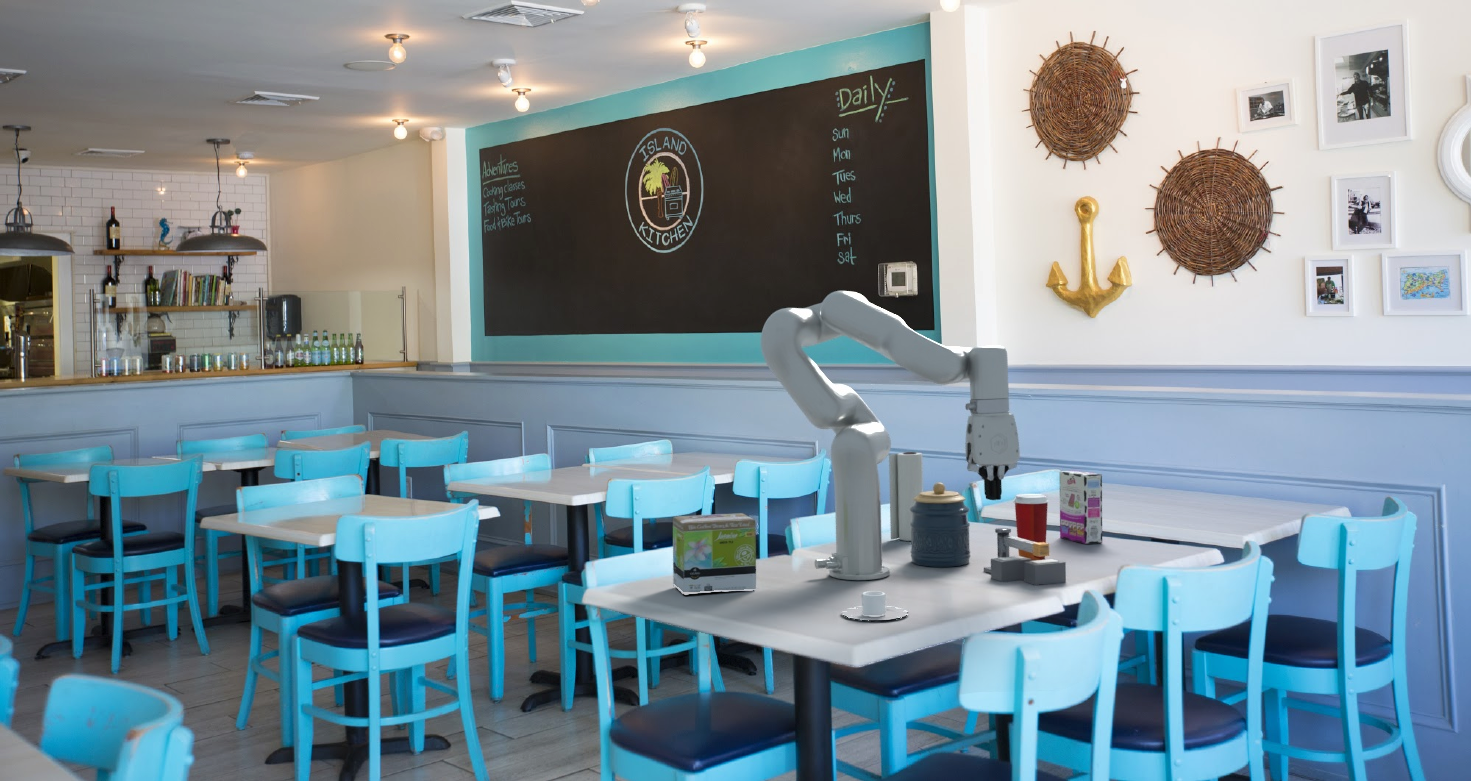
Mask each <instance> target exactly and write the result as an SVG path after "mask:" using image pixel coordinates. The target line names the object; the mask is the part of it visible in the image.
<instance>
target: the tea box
mask: <svg viewBox="0 0 1471 781" xmlns="http://www.w3.org/2000/svg"><path fill="white" fill-rule="evenodd" d="M756 523H757V522H756V519H754V518H752V517H750V516H748V515H746V514H745V513H743V512H740V513H717V514H715V513H714V514H698V515H697V514H696V515H680V516H677V515H676V516H673V517H672V561H673V562H672V566H673V567H672V571H673V572H672V577H673V579H672V581H673V582H672V583H673V584H675V585H676V586H677V587H679V588H680V589H681V590H682V591H683V592H700V591H714V590H744V589H756V590H757V552H756V551H757V546H756V544H757V542H756V540H757V538H756V537H757V536H756V534H757V531H756V529H757V528H756V527H757V526H756V525H757V524H756Z"/></svg>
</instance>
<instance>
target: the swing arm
mask: <svg viewBox="0 0 1471 781" xmlns="http://www.w3.org/2000/svg"><path fill="white" fill-rule="evenodd" d="M1004 545H1006V546H1009V548H1013V549H1017V550H1018V549H1020V550H1024V551H1027V552H1031V553H1033V555H1034V556H1038V557H1041V556H1045V557H1048V556H1050V543H1048V542H1046V543H1045V542H1040V543H1037V542H1033V541H1030V540H1026V539H1022V538H1018V537H1017V536H1013V535H1009V536H1004Z"/></svg>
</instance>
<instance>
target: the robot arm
mask: <svg viewBox="0 0 1471 781" xmlns="http://www.w3.org/2000/svg"><path fill="white" fill-rule="evenodd" d="M761 330H762V331H761V336H760V349H761V354H762V357H763V359H764V361H765V363H766V366H767V367H768V368H769V370H770V371H771V373H772V374H773V376H774V377H775V378H776V379H777V380H778V382H779V383H780V384H781V386H782V387H783V388H784V389H785V391H786V392H787V394H788V395H789V396H790V398H791V399H792V400H793V402H794V403H795V404H796V406H797V407H798V408H799V409H800V411H801V412H802V413H803V415H804V416H805V418H806V419H807V420H808V421H809V423H810V424H811V425H813V426H814V427H815V428H818V429H820V430H832V431H833V432H834V433H835V436H834V437H833V439H832V443H831V447H830V461H831V467H832V471H833V472H832V473H833V480H834V481H833V482H834V484H833V485H834V486H833V487H834V508H835V510H834V511H835V514H834V516H835V517H834V518H835V552H834V553H833V552H832V553H831V556H829V557H828V558H818V559H815V560H814V568H815V569H818V570H819V569H820V570H821V569H826V570H829V576H830V577H832V578H835V579H840V580H849V581H868V580H869V581H871V580H872V581H873V580H878V579H883V578H887V577H889V576H890V569H889V567H887V566H885V565H883V549H882V548H883V546H882V541H883V540H882V506H881V505H882V503H881V499H882V498H881V483H880V475H879V470H878V464H880V463H882V462H884V461H885V460H886V459H887V458H888V457H889V454H890V452H891V449H892V448H891V445H892V443H891V438H890V434H889V432H888V430H887V428H886V427H885V426H884V425H883V423H882V421H881V420H880V419H879V418H878V417H877V416H876V415H875V414H874V412H873V411H872V409H871V408H870V407H869V406H868V405H867V403H866V402H865V401H864V400H863V398H862V397H861V396H860V395H859V394H858V392H856V391H855V390H854V389H852V388H851V387H850V386H849V385H846V384H843V383H838V382H837V383H836V382H835V383H833V382H832V381H831V380H830V379H828V377H827V376H826V375H825V373H823V371H822V370H821V368H820V367H819V365H817V363H816V361H814V360H813V359H812V358H811V356H809V355H808V354H807V353H805V351H804V350H803V348H807V347H808V348H809V347H812V346H816V345H820V344H822V343H824V342H828V341H832V340H834V339H838V338H840V337H843V336H844V337H847V338H848V339H850V340H853V341H855V342H857V343H859V344H861V345H863V346H865V347H866V348H869V349H871V350H872V351H875V352H876V353H878V354H880V355H882V356H883V357H884V358H886V359H889V360H890V361H892V362H893V363H894V364H897V365H898V366H900V367H902V368H903V369H905V370H908V371H909V372H911V373H913V374H915V375H917V376H919V377H921V378H923V379H925V380H927V381H928V382H932V383H934V384H937V385H941V386H942V385H943V386H945V385H951V384H952V385H953V384H958V383H963V382H964V383H965V382H969V396H970V397H969V398H970V400H969V402H968V403H965V410H966V411H969V412H970V415H968V417H967V421H966V422H967V423H966V430H965V443H964V444H965V447H964V448H965V461H966V462H967V466H966V470H967V471H968V472H973V473H977V474H978V475H979V476H980V478H981V479H982V480H983V488H984V489H983V490H984V496H985V499H986V500H989V501H999V500H1001V499H1002V493H1003V489H1002V486H1003V485H1002V480H1004V478H1005V475H1006V473H1008V471H1010V470H1013V469H1016V468H1017V467H1018V465H1017V463H1018V462H1019V460H1020V457H1021V455H1020V454H1021V453H1020V440H1019V433H1018V429H1017V423H1016V419H1015V415H1014V413H1010V396H1009V395H1010V392H1009V391H1010V390H1009V369H1008V368H1009V366H1008V364H1009V363H1008V352H1007V349H1006V347H1004V346H1001V345H983V346H981V345H980V346H975V347H966V346H965V347H964V346H950V345H949V346H948V345H947V346H945V345H943V344H941V343H938V342H937V341H934V340H932V339H930V338H927V337H926V336H924V335H922V334H921V333H918V332H916V331H915V330H913V329H912V328H910V327H909V326H908V325H907V324H906V322H905V321H904V319H902V318H901V317H900V316H899V315H897V314H894V313H893V312H890V311H888V310H886V309H884V308H881V307H880V306H877V305H875V304H874V303H871V302H870V301H869V300H868V299H867V298H866V297H865V296H864V295H862V294H861V293H858V292H856V291H851V290H850V291H849V290H848V291H847V290H837V291H836V290H835V291H832V292H830V293H829V294H827V296H826V297H825V298H824V299H823V300H822V302H820V303H816V304H813V305H810V306H807V307H803V308H802V307H798V308H797V307H786V308H780V309H777V310H776V311H774V312H772V314H770V316H768V318H767V319H766V321H765V322H764V325H763V328H762V329H761Z"/></svg>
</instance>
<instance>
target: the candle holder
mask: <svg viewBox="0 0 1471 781" xmlns="http://www.w3.org/2000/svg"><path fill="white" fill-rule="evenodd" d="M853 607H854V608H852V607H849V608H847V609H856V607H862V610H861V614H862V613H863V614H864V615H882V614H885V613H886V614H887V612H886V611H887V610H886V607H893V606H890V605H886V593H885V592H884V591H879V590H868V591H863V592H862V594H861V605H859V606H853ZM894 607H895V608H896V609H903V607H902V608H901V607H897V606H894ZM857 609H858V608H857ZM842 612H847V611H843V610H842V611H841V613H842ZM903 612H909V611H908V610H906V609H905V610H904V611H903ZM841 615H842V616H843V615H844V614H841ZM905 615H907V616H909V614H905ZM847 617H848V616H847ZM847 617H846V618H847ZM897 617H898V616H897ZM850 618H853V617H848V618H847V619H850ZM898 618H900V617H898ZM864 619H865V618H863V619H860V620H859V621H862V620H864ZM900 619H903V618H902V617H901V618H900ZM867 622H870V621H869V620H868V621H867Z"/></svg>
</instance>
